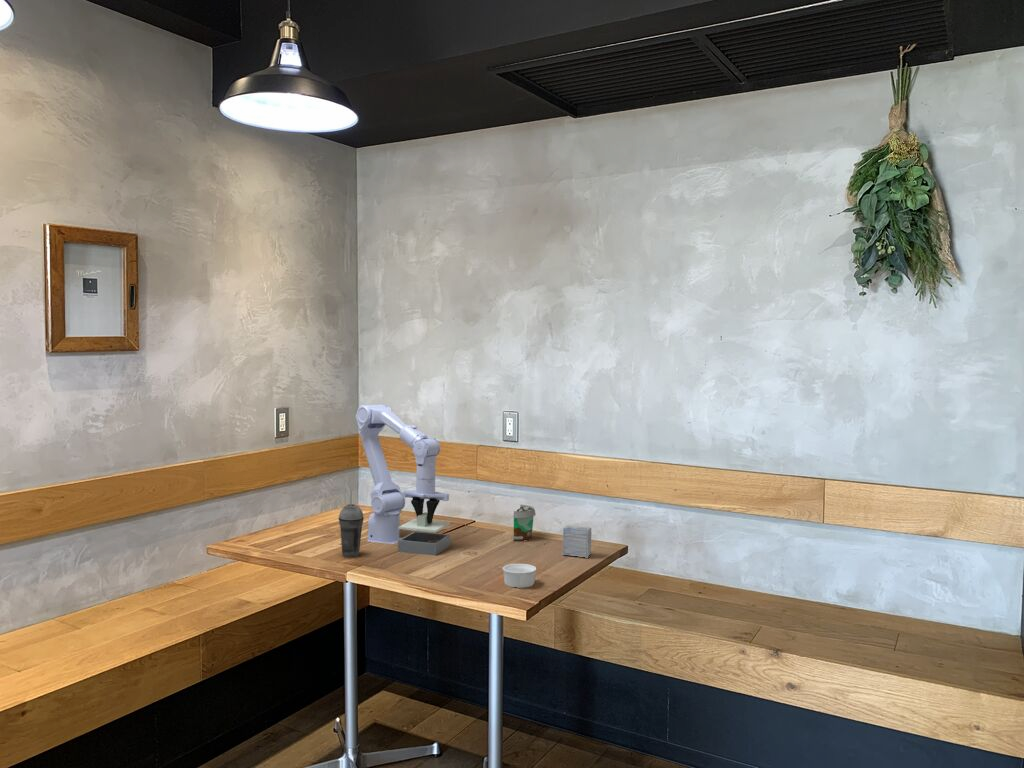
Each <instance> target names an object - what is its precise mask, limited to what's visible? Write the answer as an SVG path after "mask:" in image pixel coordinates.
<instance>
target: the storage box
mask: <svg viewBox="0 0 1024 768" xmlns="http://www.w3.org/2000/svg"><path fill="white" fill-rule="evenodd" d="M401 538H402V539H400V540H398V542H397V544H398V545H397V546H398V547H397V552H398V553H405V554H406V553H408V554H416V555H417V554H418V555H426V556H428V555H429V556H437V555H439V554H440V553H441V552H444V550H446V549H448V548H450V546H451V535H450V534H445V533H436V532H434V533H432V532H422V531H413V532H411V533H409V534H408V535H405V536H402V537H401ZM428 540H438V542H436V543H428Z"/></svg>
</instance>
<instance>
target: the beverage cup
mask: <svg viewBox="0 0 1024 768" xmlns="http://www.w3.org/2000/svg"><path fill="white" fill-rule="evenodd" d="M352 498H353V497H352V488H350V489H349V504H347V505H345V506H343V507H342V509H340V512H339V515H338V523H339V528H340V540H341V554H342V557H343V558H347V559H348V558H358V556H360V549H361V538H362V527H363V524H364V519H365V518H364V513H363V510H362V509H361V507H360V506H358V505H356V504H353V503H352V501H353V500H352Z"/></svg>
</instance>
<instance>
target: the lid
mask: <svg viewBox="0 0 1024 768" xmlns="http://www.w3.org/2000/svg"><path fill="white" fill-rule="evenodd" d="M449 525H451V521H442V520H434V519H432V523H430V524H428V523H427V512H426V511H425V512H423V514H421V515H419V516H417V515H416V518H413V519H411V520H409V521H407V522H405V523H403V524H401V525H399V527H398V529H399V530H403V531H413V532H425V533H437V532H439V531H441V530H442V529H445V528H447V526H449Z"/></svg>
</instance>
